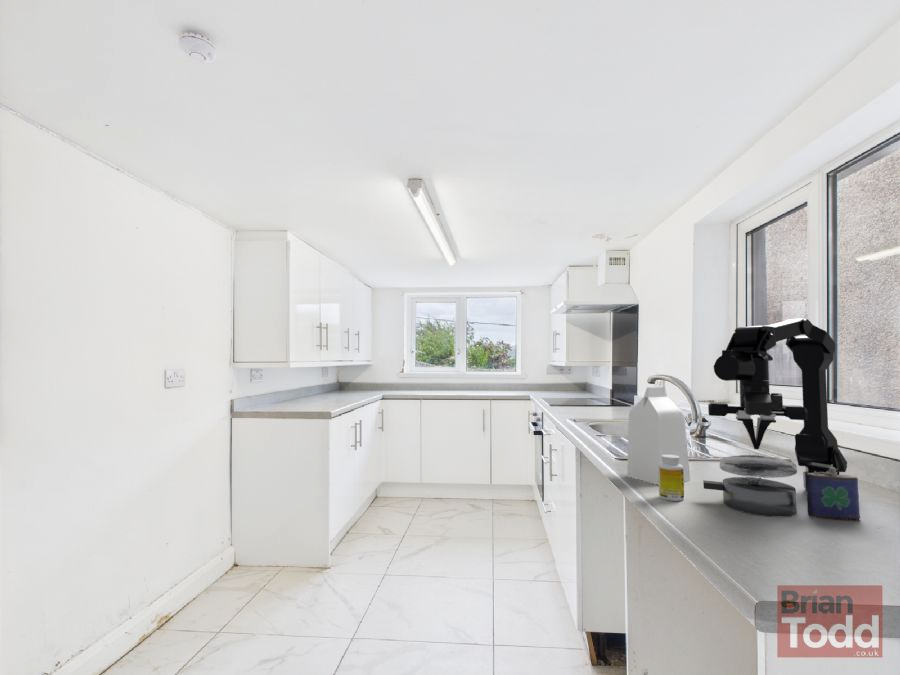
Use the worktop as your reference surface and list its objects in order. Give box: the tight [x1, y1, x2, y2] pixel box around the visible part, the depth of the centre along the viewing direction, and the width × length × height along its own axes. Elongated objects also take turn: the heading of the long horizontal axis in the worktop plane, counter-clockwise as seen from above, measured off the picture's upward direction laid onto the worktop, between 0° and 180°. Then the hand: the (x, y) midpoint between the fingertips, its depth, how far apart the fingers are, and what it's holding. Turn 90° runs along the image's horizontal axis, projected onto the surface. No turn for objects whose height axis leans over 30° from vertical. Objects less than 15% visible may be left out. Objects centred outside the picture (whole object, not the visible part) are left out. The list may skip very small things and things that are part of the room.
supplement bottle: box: [658, 455, 685, 502], centre depth 114 cm, size 6×6×10 cm
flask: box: [806, 467, 861, 522], centre depth 100 cm, size 9×3×11 cm, turn 74°
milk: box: [626, 386, 691, 486], centre depth 134 cm, size 12×12×26 cm
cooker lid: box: [718, 454, 798, 479], centre depth 109 cm, size 15×15×3 cm
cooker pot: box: [702, 476, 798, 517], centre depth 109 cm, size 18×16×5 cm
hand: (756, 449), depth 106 cm, fingers closed
